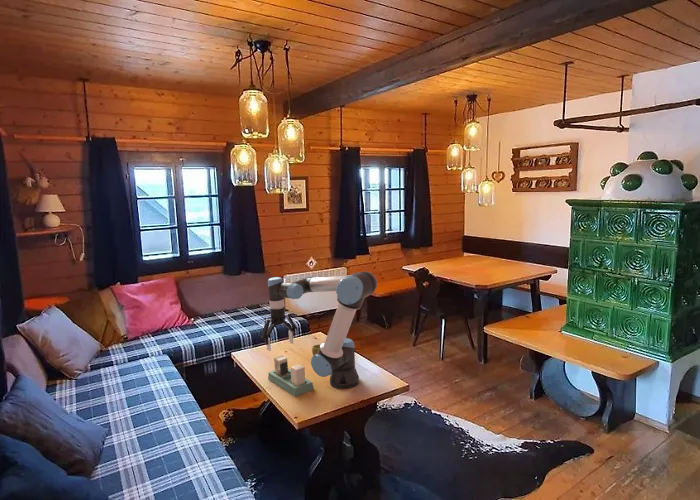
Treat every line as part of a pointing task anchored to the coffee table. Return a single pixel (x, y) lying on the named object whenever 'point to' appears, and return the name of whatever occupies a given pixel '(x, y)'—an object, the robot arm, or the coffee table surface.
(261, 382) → the coffee table surface
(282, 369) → the block
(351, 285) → the robot arm
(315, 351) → the mug
